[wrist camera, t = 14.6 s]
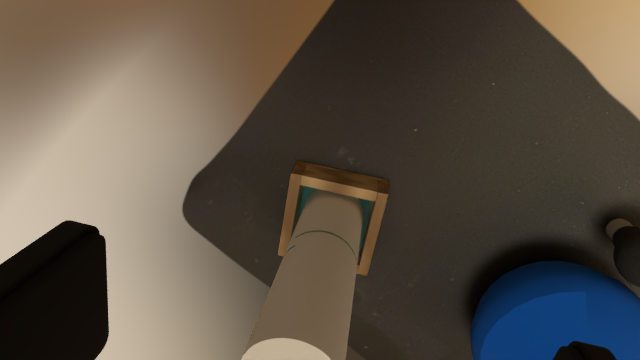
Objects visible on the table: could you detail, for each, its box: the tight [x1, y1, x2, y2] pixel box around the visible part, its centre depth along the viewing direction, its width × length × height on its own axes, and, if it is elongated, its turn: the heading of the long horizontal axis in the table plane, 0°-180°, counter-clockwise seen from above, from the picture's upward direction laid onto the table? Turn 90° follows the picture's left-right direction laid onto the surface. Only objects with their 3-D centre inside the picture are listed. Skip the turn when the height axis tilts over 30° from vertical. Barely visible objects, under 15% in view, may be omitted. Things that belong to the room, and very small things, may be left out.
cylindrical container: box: [241, 189, 363, 360], centre depth 41 cm, size 7×7×25 cm
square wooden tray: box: [278, 160, 389, 276], centre depth 51 cm, size 11×11×4 cm
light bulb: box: [606, 219, 640, 287], centre depth 44 cm, size 6×6×10 cm
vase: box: [470, 261, 640, 360], centre depth 45 cm, size 18×18×19 cm
